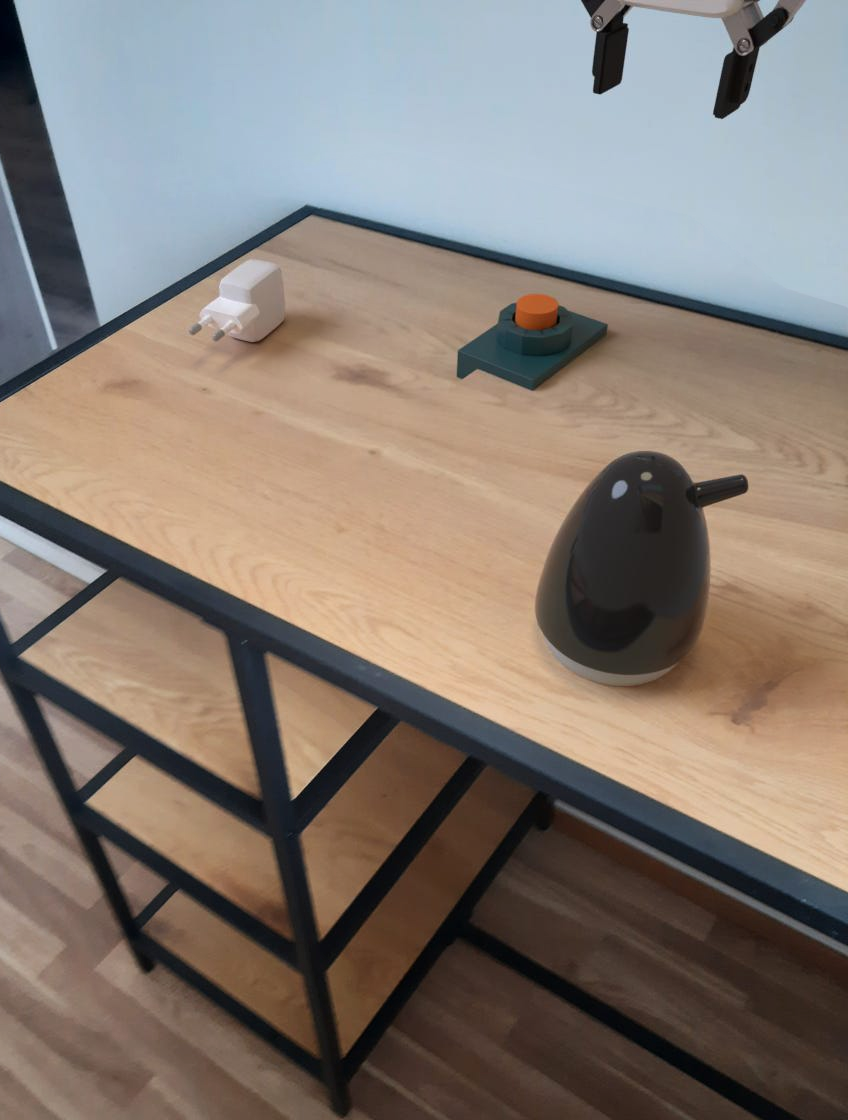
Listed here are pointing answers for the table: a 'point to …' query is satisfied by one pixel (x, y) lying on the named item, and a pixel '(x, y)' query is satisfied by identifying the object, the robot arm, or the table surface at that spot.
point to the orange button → (536, 312)
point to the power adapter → (246, 303)
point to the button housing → (529, 348)
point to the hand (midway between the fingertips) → (664, 100)
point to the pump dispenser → (631, 570)
